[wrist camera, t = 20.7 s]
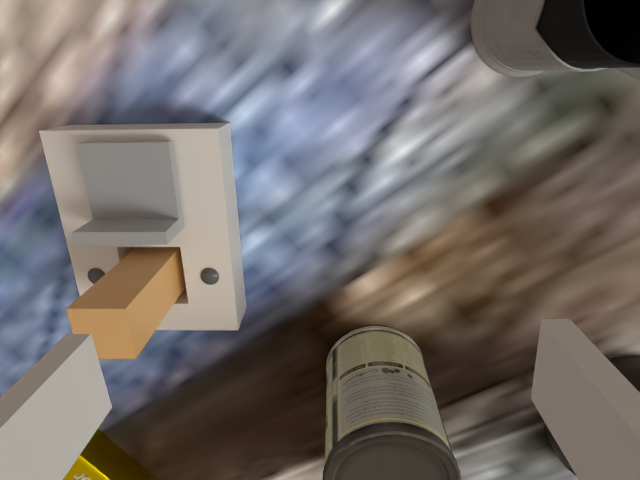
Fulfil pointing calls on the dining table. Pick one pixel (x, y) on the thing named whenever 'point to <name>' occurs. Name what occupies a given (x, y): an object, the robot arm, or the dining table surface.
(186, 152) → the socket plate
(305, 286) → the dining table surface
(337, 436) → the coffee can
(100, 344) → the plug
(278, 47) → the dining table surface
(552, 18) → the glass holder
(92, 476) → the element tile
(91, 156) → the shutter
